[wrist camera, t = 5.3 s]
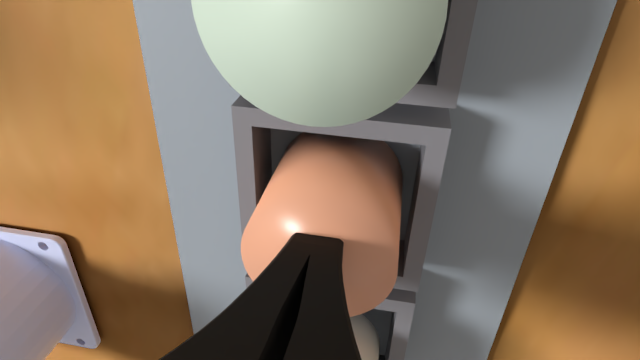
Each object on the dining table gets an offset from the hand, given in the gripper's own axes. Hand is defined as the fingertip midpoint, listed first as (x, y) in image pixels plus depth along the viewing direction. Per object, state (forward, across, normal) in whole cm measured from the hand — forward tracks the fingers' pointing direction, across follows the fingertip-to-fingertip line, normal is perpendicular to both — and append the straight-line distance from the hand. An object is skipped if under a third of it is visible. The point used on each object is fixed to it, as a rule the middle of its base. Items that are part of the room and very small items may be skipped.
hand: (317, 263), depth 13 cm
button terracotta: (+4, 0, 0) cm, 4 cm away
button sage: (+3, 0, -7) cm, 8 cm away
